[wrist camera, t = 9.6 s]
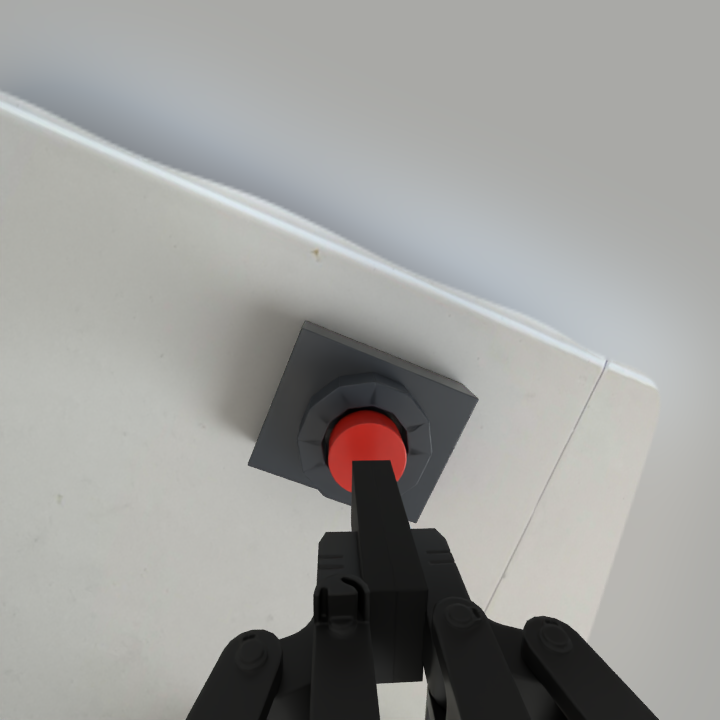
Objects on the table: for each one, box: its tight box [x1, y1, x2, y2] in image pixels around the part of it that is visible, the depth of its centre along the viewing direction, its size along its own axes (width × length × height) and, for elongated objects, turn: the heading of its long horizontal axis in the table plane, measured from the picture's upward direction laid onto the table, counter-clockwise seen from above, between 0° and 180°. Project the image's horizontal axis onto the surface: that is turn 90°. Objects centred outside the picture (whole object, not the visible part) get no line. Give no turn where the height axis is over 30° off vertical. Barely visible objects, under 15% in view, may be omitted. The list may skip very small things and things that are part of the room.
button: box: [328, 410, 407, 492], centre depth 20 cm, size 4×4×2 cm
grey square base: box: [248, 321, 478, 523], centre depth 22 cm, size 10×8×4 cm
